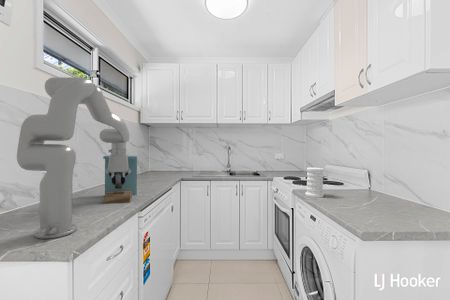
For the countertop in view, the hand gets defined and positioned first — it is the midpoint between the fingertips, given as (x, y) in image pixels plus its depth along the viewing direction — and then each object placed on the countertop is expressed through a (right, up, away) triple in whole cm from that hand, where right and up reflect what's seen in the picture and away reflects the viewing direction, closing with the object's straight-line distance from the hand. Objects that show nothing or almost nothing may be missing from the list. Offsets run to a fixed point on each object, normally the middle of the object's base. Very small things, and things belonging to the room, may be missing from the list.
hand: (118, 184), depth 132 cm
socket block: (0, -9, 0) cm, 9 cm away
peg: (0, -2, 0) cm, 2 cm away
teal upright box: (-3, -9, +10) cm, 14 cm away
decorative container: (+120, -11, +23) cm, 123 cm away
